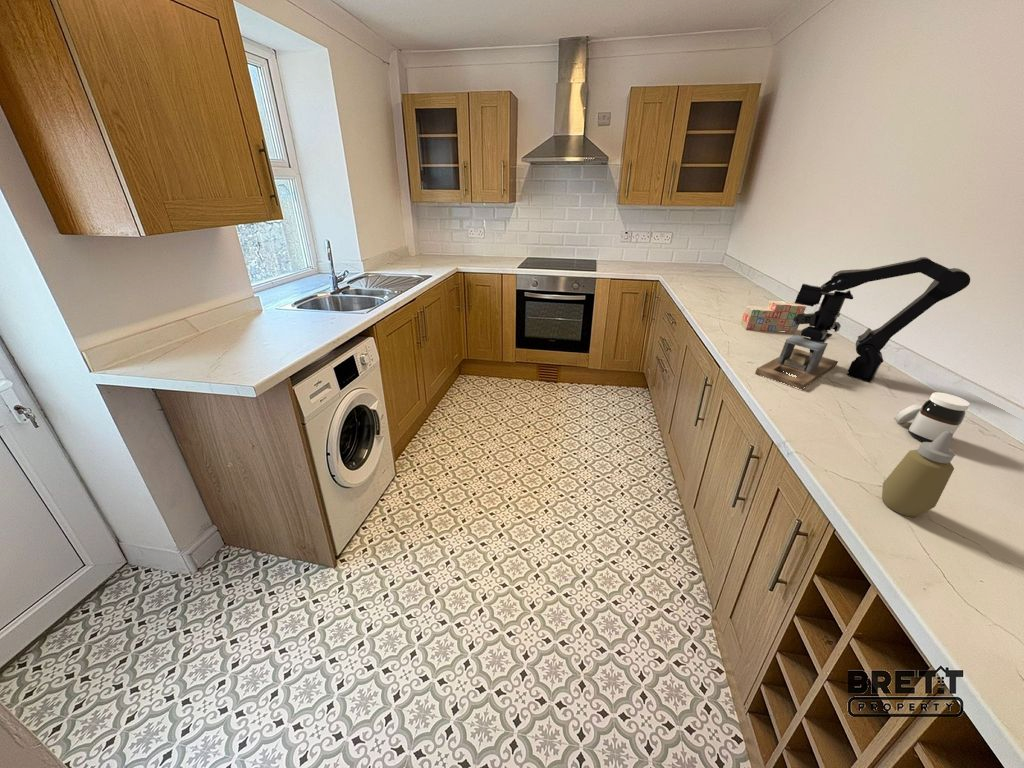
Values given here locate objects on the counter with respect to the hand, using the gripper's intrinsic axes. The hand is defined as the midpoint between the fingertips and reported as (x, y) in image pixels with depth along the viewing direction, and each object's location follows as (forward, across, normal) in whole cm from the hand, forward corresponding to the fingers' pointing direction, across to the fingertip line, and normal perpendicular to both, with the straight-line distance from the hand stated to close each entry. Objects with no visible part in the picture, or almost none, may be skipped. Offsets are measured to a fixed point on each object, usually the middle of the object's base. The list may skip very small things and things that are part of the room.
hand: (811, 352), depth 143 cm
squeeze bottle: (+5, +66, +39) cm, 77 cm away
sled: (+2, +5, 0) cm, 5 cm away
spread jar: (+5, +26, +35) cm, 44 cm away
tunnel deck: (+5, +9, 0) cm, 10 cm away
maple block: (+3, +11, 0) cm, 11 cm away
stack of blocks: (+5, -29, -25) cm, 39 cm away
